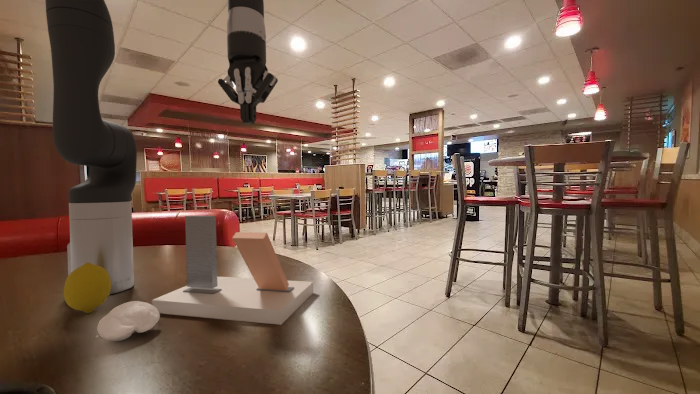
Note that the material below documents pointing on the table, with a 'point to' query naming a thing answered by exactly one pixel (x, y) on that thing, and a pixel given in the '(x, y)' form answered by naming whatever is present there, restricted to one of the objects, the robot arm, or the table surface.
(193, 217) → the grey paddle
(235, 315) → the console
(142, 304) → the dumpling
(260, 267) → the terracotta paddle
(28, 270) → the table surface
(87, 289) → the lemon
